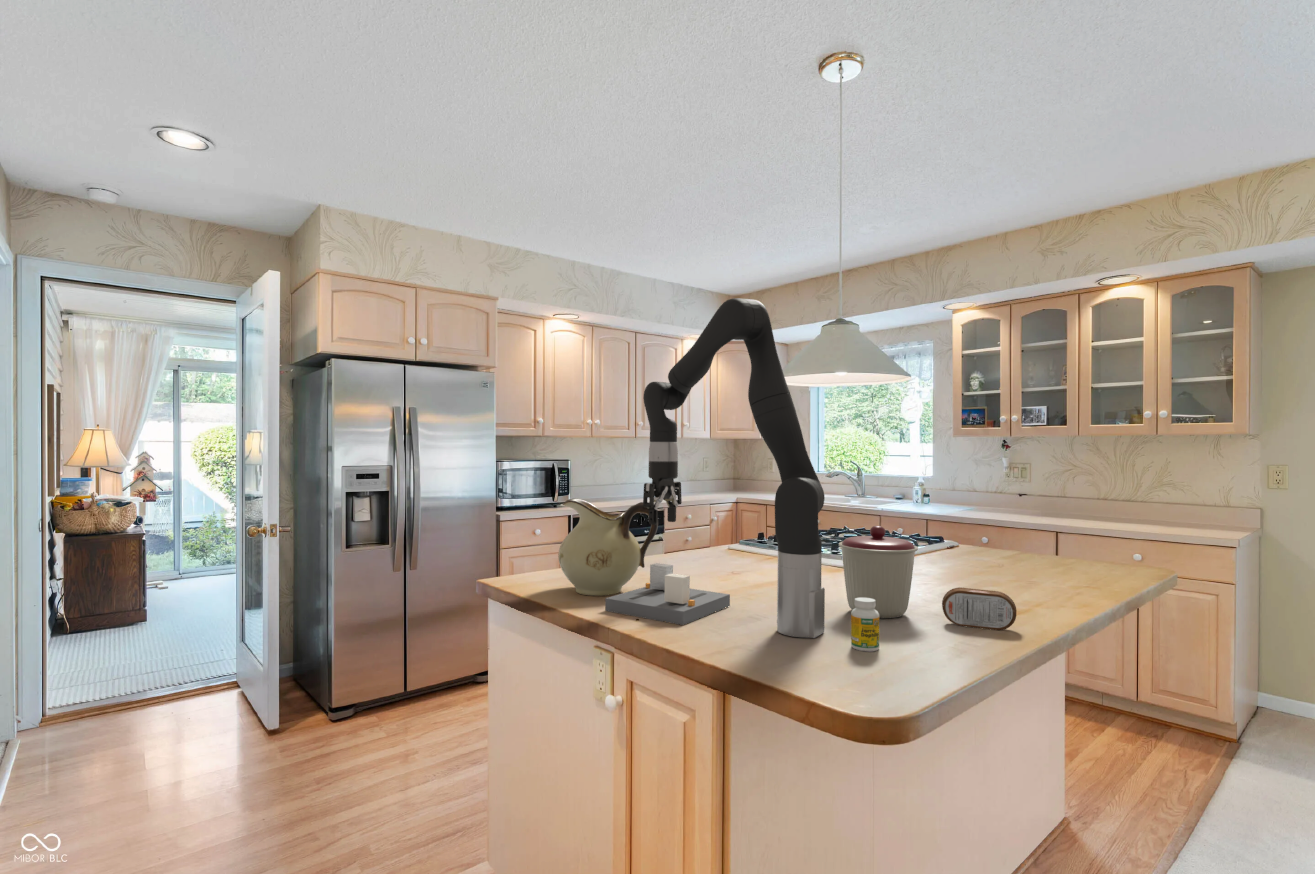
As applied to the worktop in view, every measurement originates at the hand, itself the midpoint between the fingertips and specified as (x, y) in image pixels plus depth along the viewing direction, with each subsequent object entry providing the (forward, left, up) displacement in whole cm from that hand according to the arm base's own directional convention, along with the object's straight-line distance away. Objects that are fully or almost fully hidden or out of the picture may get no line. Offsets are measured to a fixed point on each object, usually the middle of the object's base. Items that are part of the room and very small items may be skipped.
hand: (662, 523), depth 169 cm
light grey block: (0, 0, -17) cm, 17 cm away
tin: (-70, -22, -20) cm, 77 cm away
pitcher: (+21, -1, -20) cm, 29 cm away
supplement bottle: (-54, +9, -20) cm, 59 cm away
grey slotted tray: (-5, +5, -20) cm, 21 cm away
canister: (-48, -21, -20) cm, 57 cm away
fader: (-11, +10, -17) cm, 22 cm away
